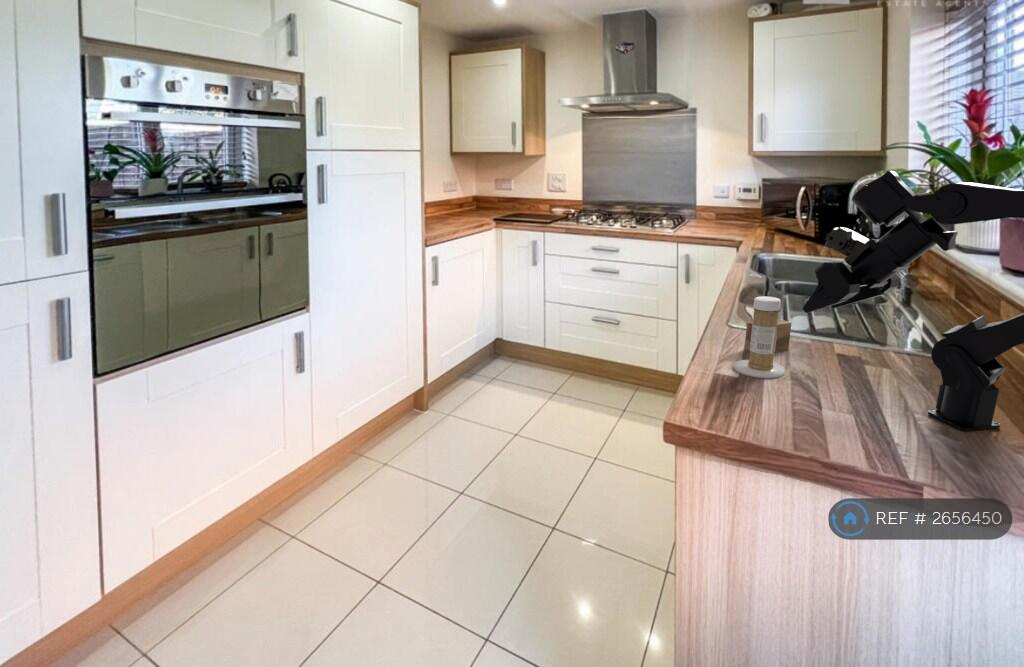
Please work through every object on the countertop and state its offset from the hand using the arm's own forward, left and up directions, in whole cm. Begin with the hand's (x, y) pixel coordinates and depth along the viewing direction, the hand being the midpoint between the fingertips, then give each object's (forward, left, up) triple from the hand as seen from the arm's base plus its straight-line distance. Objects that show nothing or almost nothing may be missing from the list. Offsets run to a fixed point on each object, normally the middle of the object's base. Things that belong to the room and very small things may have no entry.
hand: (818, 308), depth 102 cm
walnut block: (+19, -3, -14) cm, 23 cm away
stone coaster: (+7, +5, -14) cm, 16 cm away
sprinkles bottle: (+7, +5, -13) cm, 16 cm away
